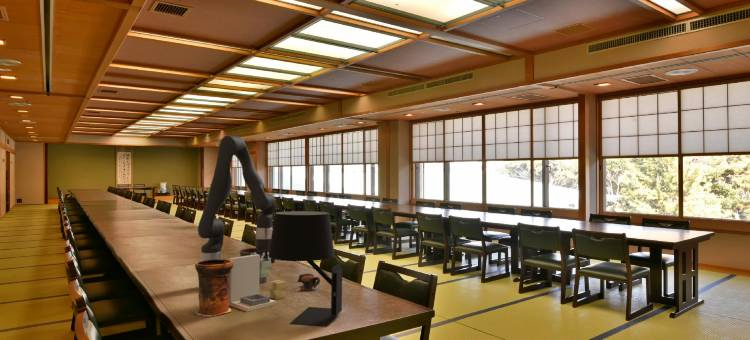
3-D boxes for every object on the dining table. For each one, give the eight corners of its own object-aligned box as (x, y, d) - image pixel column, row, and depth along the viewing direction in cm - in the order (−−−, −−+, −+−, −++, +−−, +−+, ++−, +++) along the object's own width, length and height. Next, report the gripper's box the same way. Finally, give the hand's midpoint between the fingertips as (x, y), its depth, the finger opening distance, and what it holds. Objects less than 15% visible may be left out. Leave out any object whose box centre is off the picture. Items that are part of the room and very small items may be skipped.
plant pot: (277, 280, 233) (278, 249, 234) (254, 286, 220) (254, 253, 220) (255, 276, 242) (256, 246, 242) (231, 282, 228) (232, 250, 229)
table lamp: (329, 328, 160) (331, 216, 161) (255, 323, 165) (258, 214, 166) (346, 308, 185) (348, 211, 186) (282, 304, 190) (283, 209, 191)
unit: (227, 304, 188) (228, 258, 188) (255, 298, 199) (256, 254, 199) (247, 311, 179) (248, 262, 179) (276, 304, 189) (276, 258, 190)
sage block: (254, 275, 207) (255, 260, 207) (263, 274, 211) (264, 259, 211) (261, 277, 204) (262, 262, 204) (270, 276, 208) (271, 260, 208)
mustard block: (269, 297, 201) (270, 281, 201) (278, 295, 205) (279, 279, 205) (276, 299, 198) (277, 283, 198) (285, 297, 202) (286, 281, 202)
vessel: (210, 319, 168) (211, 265, 169) (186, 313, 175) (187, 262, 176) (240, 310, 180) (241, 260, 181) (217, 305, 188) (217, 257, 188)
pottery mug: (294, 291, 213) (293, 274, 218) (302, 296, 221) (302, 280, 226) (317, 286, 211) (316, 270, 215) (325, 291, 219) (324, 275, 223)
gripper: (271, 235, 216) (270, 270, 215) (246, 237, 204) (244, 274, 204) (281, 236, 211) (280, 273, 211) (255, 239, 200) (254, 277, 200)
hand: (262, 273), depth 207 cm, fingers closed on sage block, 5 cm apart
